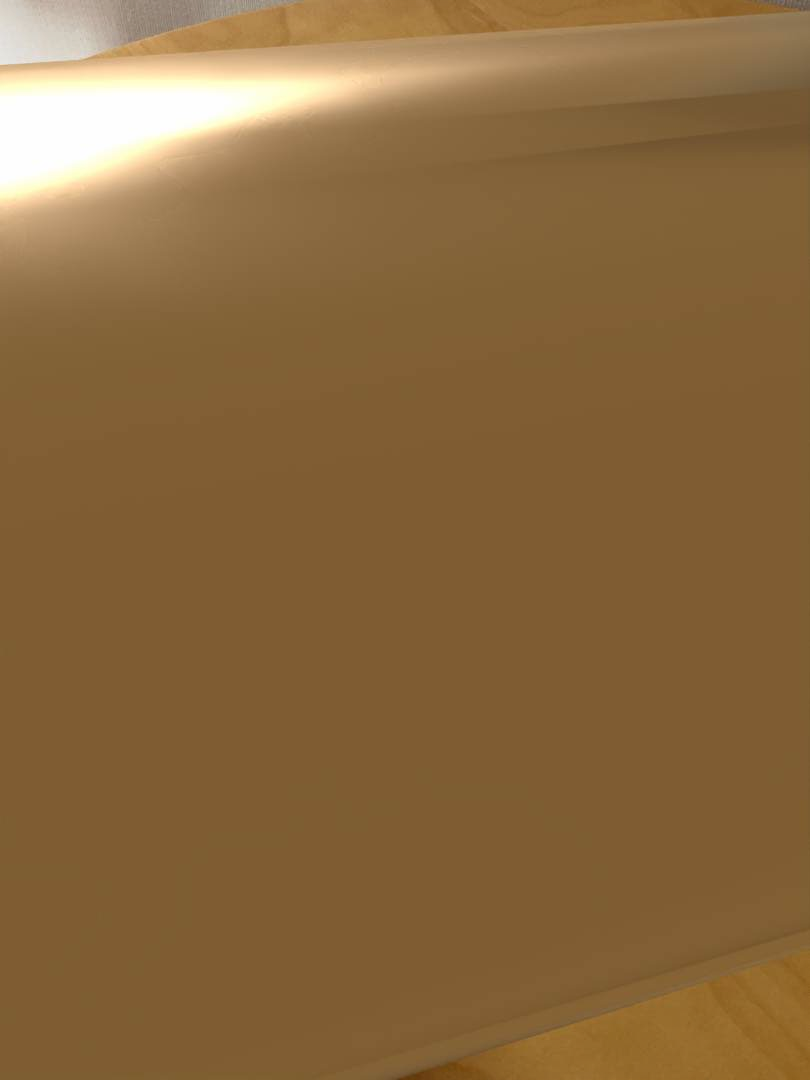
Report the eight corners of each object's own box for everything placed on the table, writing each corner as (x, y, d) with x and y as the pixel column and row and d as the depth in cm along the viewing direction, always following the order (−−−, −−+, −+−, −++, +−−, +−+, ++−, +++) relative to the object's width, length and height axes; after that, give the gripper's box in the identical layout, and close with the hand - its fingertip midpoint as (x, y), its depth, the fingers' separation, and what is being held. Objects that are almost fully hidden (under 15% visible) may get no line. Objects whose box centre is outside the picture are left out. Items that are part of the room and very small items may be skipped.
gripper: (1197, 719, 36) (627, 894, 50) (823, -35, 42) (414, 316, 57) (1087, 771, 30) (489, 949, 45) (680, -96, 37) (272, 307, 52)
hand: (446, 597), depth 51 cm, fingers open, 13 cm apart
